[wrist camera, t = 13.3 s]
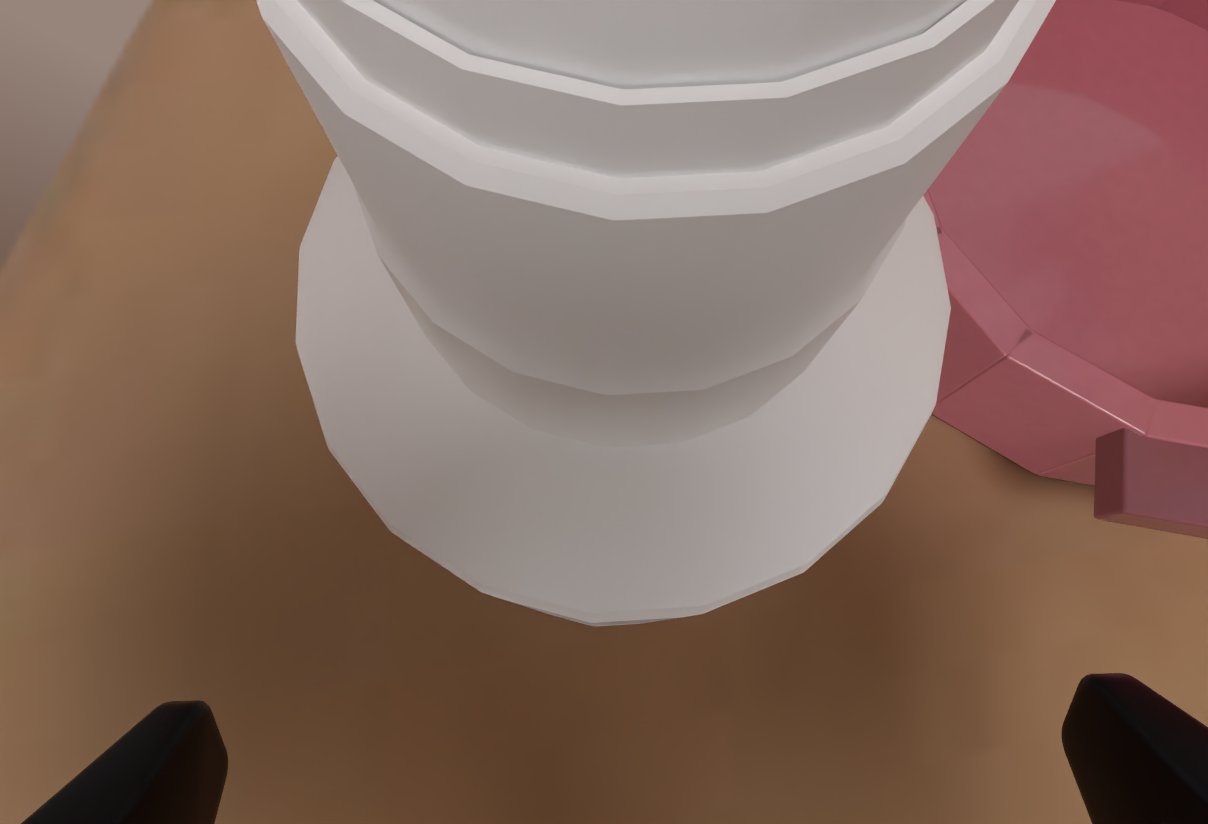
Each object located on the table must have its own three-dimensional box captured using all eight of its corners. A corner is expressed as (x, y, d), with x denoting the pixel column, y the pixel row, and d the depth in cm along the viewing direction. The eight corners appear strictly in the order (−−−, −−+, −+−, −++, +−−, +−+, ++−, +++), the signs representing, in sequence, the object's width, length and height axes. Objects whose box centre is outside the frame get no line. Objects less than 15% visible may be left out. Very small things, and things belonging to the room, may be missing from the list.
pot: (1420, 608, 18) (1641, 602, 14) (781, 493, 19) (828, 458, 15) (1369, -22, 23) (1526, -154, 19) (855, -99, 23) (906, -243, 20)
